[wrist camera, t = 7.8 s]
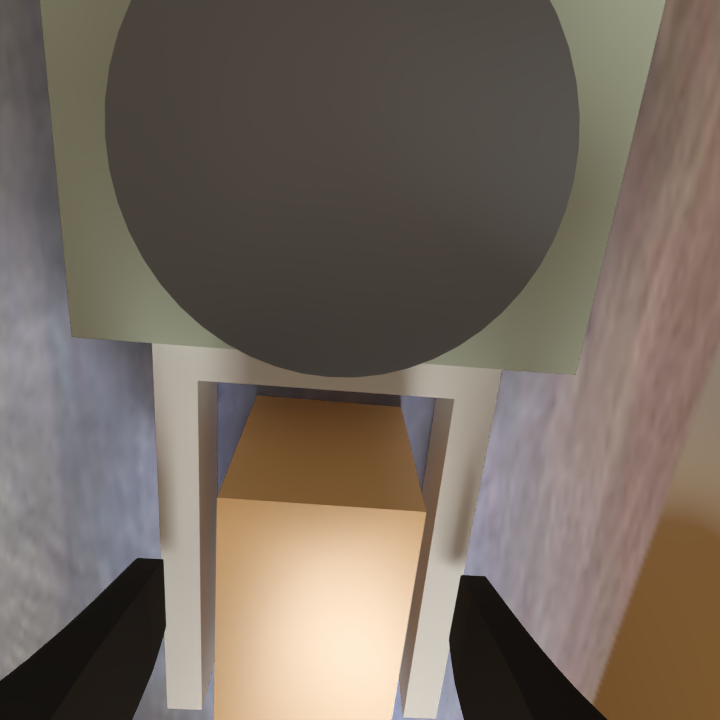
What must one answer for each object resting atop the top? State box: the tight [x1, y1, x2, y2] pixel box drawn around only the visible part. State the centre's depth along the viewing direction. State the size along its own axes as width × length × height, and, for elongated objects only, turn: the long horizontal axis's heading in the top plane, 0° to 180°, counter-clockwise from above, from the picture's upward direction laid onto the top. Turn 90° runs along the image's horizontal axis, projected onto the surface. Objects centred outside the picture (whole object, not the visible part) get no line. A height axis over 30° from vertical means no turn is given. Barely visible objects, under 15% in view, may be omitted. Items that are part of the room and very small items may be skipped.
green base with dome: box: [40, 0, 666, 719], centre depth 12 cm, size 20×11×5 cm, turn 175°
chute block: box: [214, 395, 426, 720], centre depth 14 cm, size 8×4×5 cm, turn 174°
